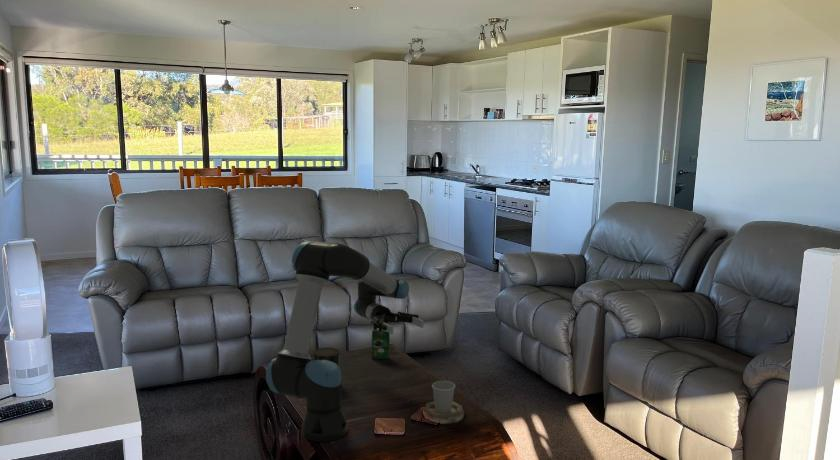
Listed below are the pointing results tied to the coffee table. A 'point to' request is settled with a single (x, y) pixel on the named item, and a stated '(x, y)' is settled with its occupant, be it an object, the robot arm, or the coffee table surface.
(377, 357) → the coffee box
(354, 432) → the coffee table surface
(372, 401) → the coffee table surface
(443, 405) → the dixie cup
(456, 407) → the rimmed coaster
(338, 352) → the coffee can
